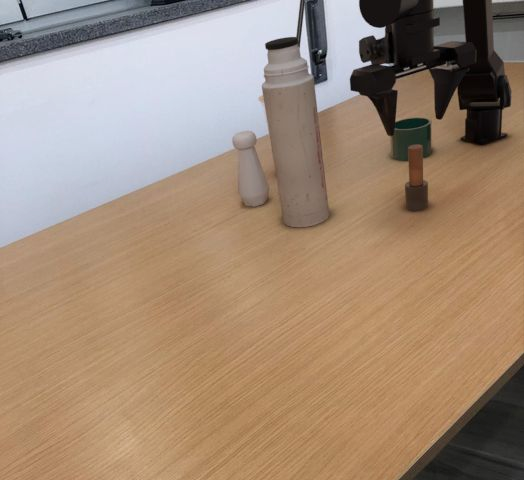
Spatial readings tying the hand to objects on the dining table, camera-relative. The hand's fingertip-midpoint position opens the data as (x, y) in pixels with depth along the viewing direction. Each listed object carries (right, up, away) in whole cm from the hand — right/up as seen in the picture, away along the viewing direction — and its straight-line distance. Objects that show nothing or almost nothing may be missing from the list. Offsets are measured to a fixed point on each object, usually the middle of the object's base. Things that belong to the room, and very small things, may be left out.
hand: (415, 127), depth 92 cm
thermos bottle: (-16, -11, +12) cm, 23 cm away
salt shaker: (-25, -6, +22) cm, 33 cm away
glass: (-16, +3, +33) cm, 37 cm away
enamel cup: (+7, +5, +29) cm, 30 cm away
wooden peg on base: (+2, -10, +7) cm, 13 cm away
